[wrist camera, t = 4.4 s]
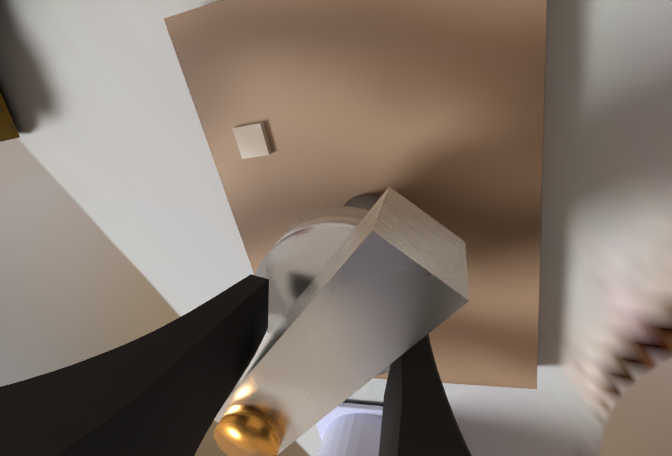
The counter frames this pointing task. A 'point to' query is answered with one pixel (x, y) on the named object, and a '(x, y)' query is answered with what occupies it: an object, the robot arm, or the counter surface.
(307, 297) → the lever with brass knob
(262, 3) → the plate
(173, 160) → the counter surface
